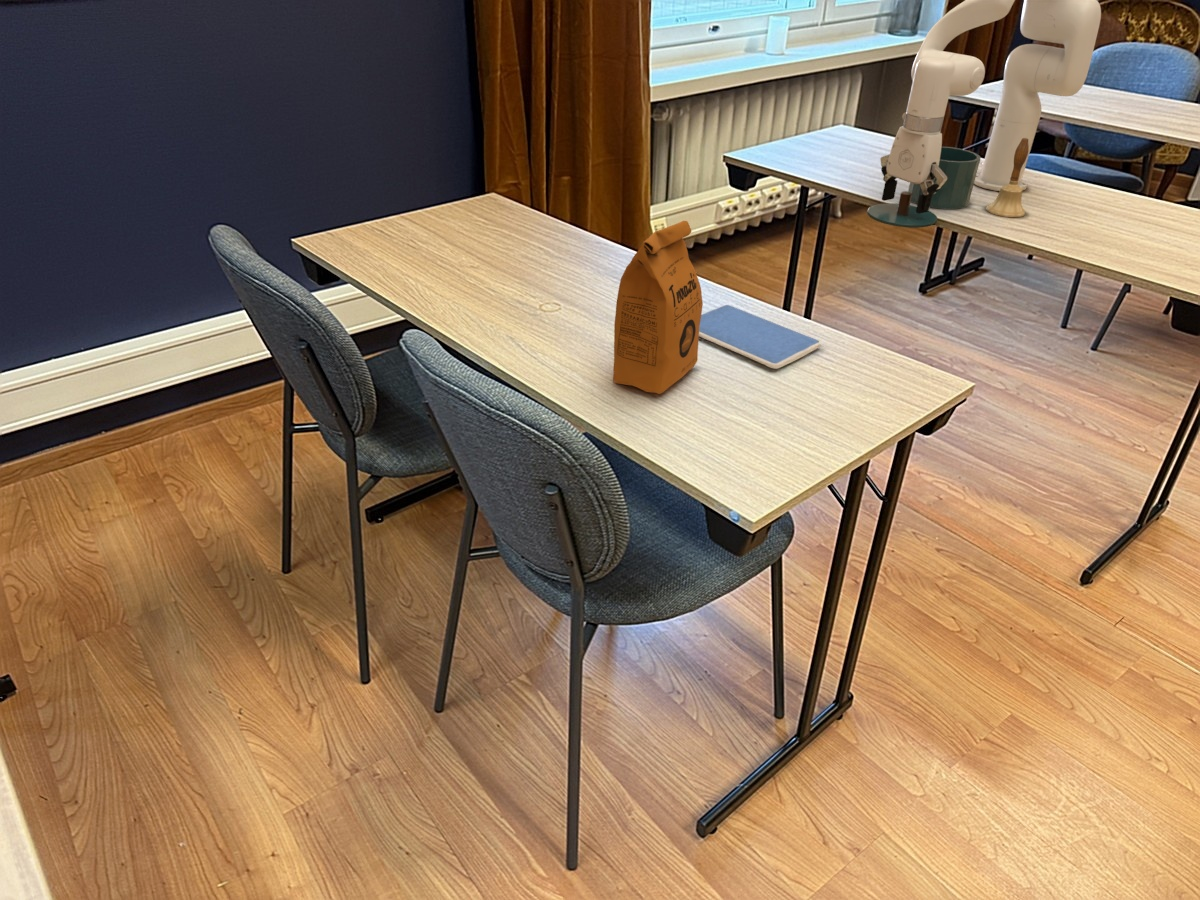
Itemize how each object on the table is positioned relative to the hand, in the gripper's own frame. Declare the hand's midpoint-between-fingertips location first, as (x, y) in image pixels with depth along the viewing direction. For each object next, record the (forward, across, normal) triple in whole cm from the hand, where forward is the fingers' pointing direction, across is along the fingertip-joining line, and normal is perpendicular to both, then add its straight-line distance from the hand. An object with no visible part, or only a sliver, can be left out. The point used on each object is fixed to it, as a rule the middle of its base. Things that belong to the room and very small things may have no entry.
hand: (904, 205), depth 186 cm
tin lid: (+2, 0, 0) cm, 2 cm away
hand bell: (+3, +7, +26) cm, 27 cm away
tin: (+3, -6, +18) cm, 20 cm away
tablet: (+3, +31, -68) cm, 75 cm away
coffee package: (+3, +35, -88) cm, 95 cm away
